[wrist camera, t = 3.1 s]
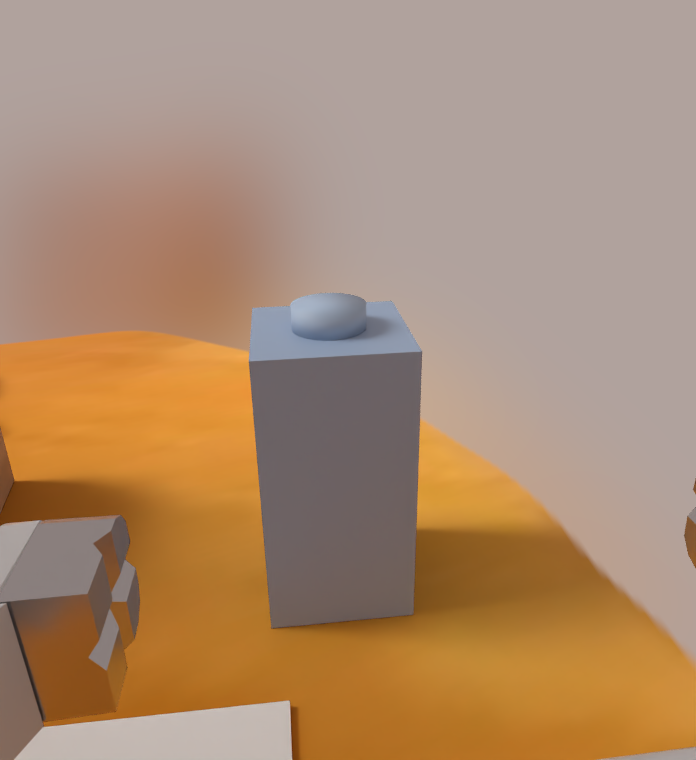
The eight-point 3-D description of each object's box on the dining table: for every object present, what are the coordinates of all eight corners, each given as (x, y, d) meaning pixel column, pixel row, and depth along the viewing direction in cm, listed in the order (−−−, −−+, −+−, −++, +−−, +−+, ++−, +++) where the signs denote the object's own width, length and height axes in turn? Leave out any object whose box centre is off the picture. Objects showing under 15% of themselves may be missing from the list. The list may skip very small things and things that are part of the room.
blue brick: (271, 628, 23) (246, 334, 18) (270, 538, 27) (250, 286, 23) (413, 614, 23) (422, 325, 19) (389, 528, 28) (392, 279, 23)
